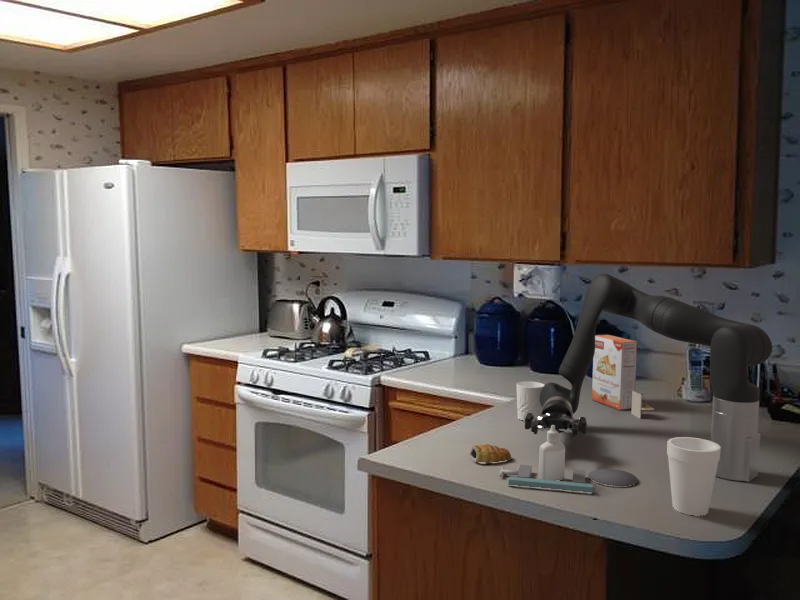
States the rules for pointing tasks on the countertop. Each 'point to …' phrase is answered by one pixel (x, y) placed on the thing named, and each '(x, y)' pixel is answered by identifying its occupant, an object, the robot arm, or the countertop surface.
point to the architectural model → (638, 404)
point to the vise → (525, 480)
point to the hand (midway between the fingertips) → (554, 431)
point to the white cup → (529, 399)
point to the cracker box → (614, 371)
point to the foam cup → (692, 473)
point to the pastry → (489, 453)
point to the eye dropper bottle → (552, 457)
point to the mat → (613, 477)
